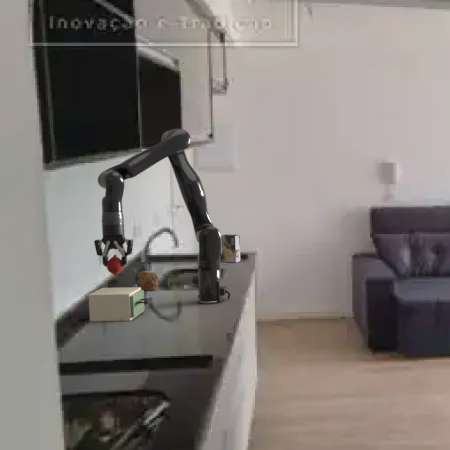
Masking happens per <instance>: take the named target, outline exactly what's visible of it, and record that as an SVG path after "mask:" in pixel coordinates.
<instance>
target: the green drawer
mask: <svg viewBox="0 0 450 450" xmlns="http://www.w3.org/2000/svg"><path fill="white" fill-rule="evenodd" d="M153 299H154V298H153V297H152V296H151V297H148V298H145V289H141V290H140V291H138V292H137V293H134V294H133V295H131V296H130V310H131V318H133V319H135V318H136V317H137V315H138V316H139V315H140V314H142V313H143V312H144V311H145V305H148V304H149V303H150V302H152V301H153ZM134 317H135V318H134Z"/></svg>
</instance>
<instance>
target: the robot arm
mask: <svg viewBox="0 0 450 450" xmlns="http://www.w3.org/2000/svg"><path fill="white" fill-rule="evenodd" d="M191 143H192V137H191V134H190V133H189V132H188V131H187V130H185V129H183V128H173V129H169V130H167V131H165V132H163V134H162V136H161V141H159V142H158V143H156V144H155V145H153V146H150V147H148V148H146V149H144V150H142V151H140V152H141V153H140V152H138V153H139V154H138V153H136V154H133V155H132V156H130V157H128V158H127V159H125V160H124V161H122V162H120V163H119V164H116V165H114V166H111V167H109V168H107V169H105V170H103V171H102V172H101V173H99V175H98V177H97V183H98V186H99V187H101V188H103V189H105V193H104V194H105V195H104V196H103V197H102V198H101V229H102V230H101V231H102V232H101V233H102V238H100V239H95V240H94V241H93V243H94V248H95V252H96V255H97V256H100V257H102V265H103V266H104V267H106V268H107V262H108V261H109V256H108V255H109V252H110V251H111V250H117V251H118V252H119V254H120V259H121V261H122V266H123V267H126V265H127V264H128V256H131V255H132V253H133V246H134V239H133V238H130V239H127V238H126V237H125V220H124V219H125V217H124V211H123V196H124V191H125V181H126V180H128V179H132V178H135V177H137V176H138V175H140V174H141V173H143V172H145V171H146V170H148V169H150V168H151V167H153V166H154V165H155V164H157V163H159V162H160V161H162V160H164V159H166V158H167V159H168V162H169V163H170V165H171V168H172V171H173V173H174V177H175V179H176V182H177V185H178V189H179V191H180V195H181V198H182V200H183V202H184V204H185V207H186V210H187V211H188V213H189V216H190V218H191V222H192V226H193V231H194V235H195V236H194V237H195V239H196V241H197V242H198V256H197V274H198V275H197V276H198V295H197V298H198V303H200V304H205V305H206V304H208V305H209V304H210V305H211V304H219V303H221V302H222V301H223V299H224V296H226V295H227V298H226V299H228V300H230V298H231V292H229V290H228V286H227V285H223V278H222V268H221V259H222V239H221V236H222V234H221V231H220V230H219V228H218V227H215V226H214V223H213V222H212V220H211V217H210V214H209V211H208V203H207V195H206V192H205V188H204V185H203V183H202V180H201V177H200V176H199V175H198V173H197V172H196V170H195V169H194V167H192V165H191V164H190V162H189V160H188V157H187V153H186V150H187V149H188V148H189V147H190V146H191ZM102 245H104V247H103V248H102ZM124 245H126V248H125V247H124Z"/></svg>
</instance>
